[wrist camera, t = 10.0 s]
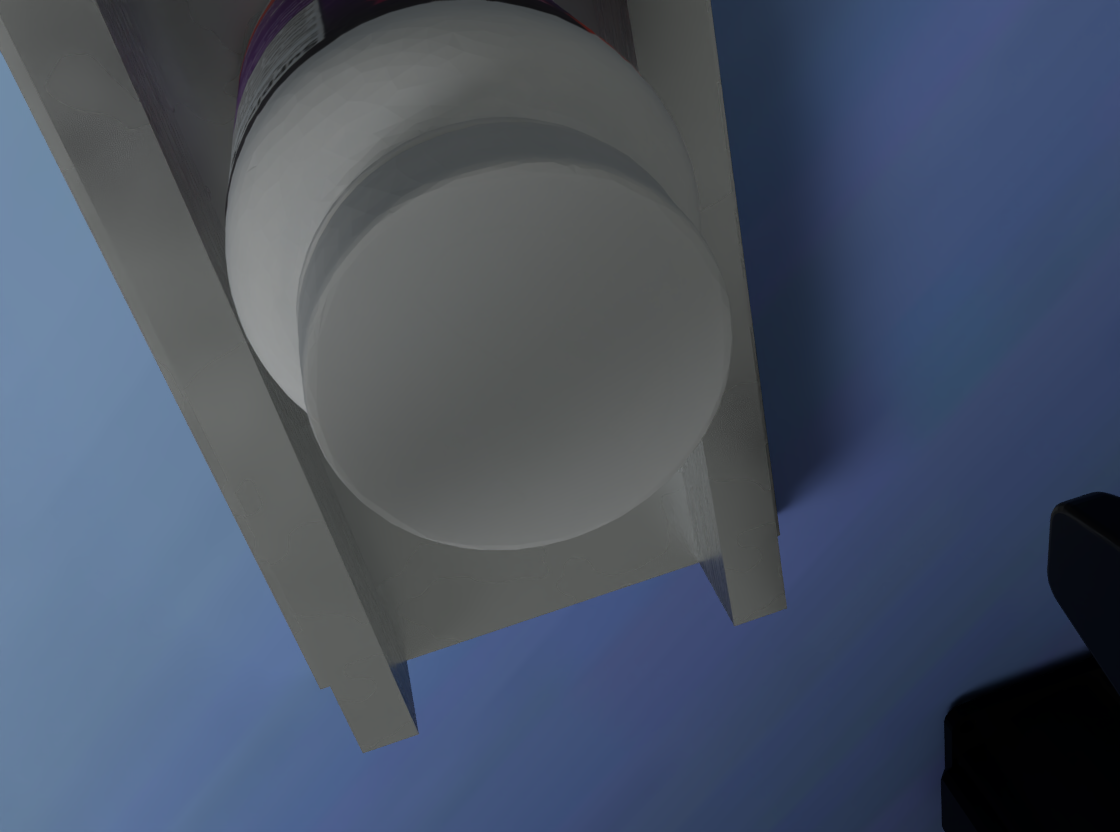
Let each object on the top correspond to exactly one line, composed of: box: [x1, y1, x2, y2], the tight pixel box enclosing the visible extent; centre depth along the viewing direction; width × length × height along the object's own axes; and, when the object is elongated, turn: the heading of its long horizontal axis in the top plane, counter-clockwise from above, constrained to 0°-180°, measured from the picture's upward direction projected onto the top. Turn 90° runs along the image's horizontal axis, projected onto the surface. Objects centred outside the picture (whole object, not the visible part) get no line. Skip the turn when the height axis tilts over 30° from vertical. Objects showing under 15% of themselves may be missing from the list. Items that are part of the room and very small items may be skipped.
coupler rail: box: [0, 0, 787, 753], centre depth 18 cm, size 11×17×4 cm, turn 12°
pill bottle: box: [225, 0, 733, 550], centre depth 14 cm, size 5×5×10 cm
